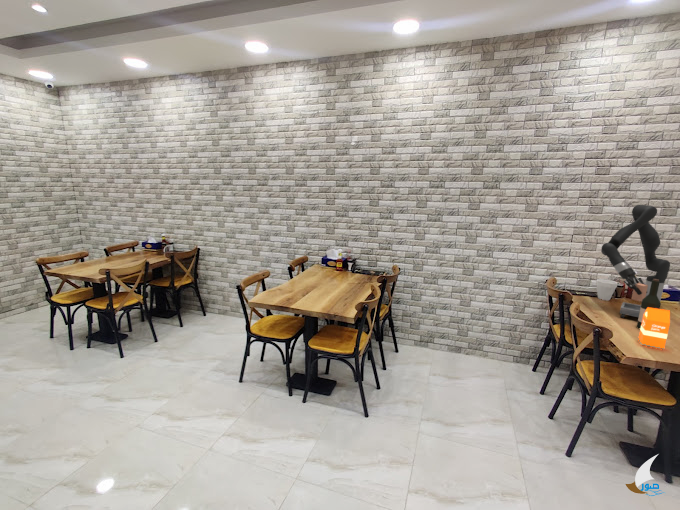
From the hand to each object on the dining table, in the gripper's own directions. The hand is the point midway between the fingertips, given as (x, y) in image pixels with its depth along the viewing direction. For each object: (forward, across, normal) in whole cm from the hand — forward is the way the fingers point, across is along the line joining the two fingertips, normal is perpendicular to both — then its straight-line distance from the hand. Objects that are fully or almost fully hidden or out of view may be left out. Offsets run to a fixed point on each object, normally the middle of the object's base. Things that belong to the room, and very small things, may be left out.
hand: (643, 293), depth 201 cm
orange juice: (+29, -34, -5) cm, 45 cm away
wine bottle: (+20, -13, +4) cm, 24 cm away
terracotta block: (+2, 0, +5) cm, 5 cm away
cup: (-11, +21, +35) cm, 42 cm away
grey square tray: (+11, 0, +13) cm, 17 cm away
